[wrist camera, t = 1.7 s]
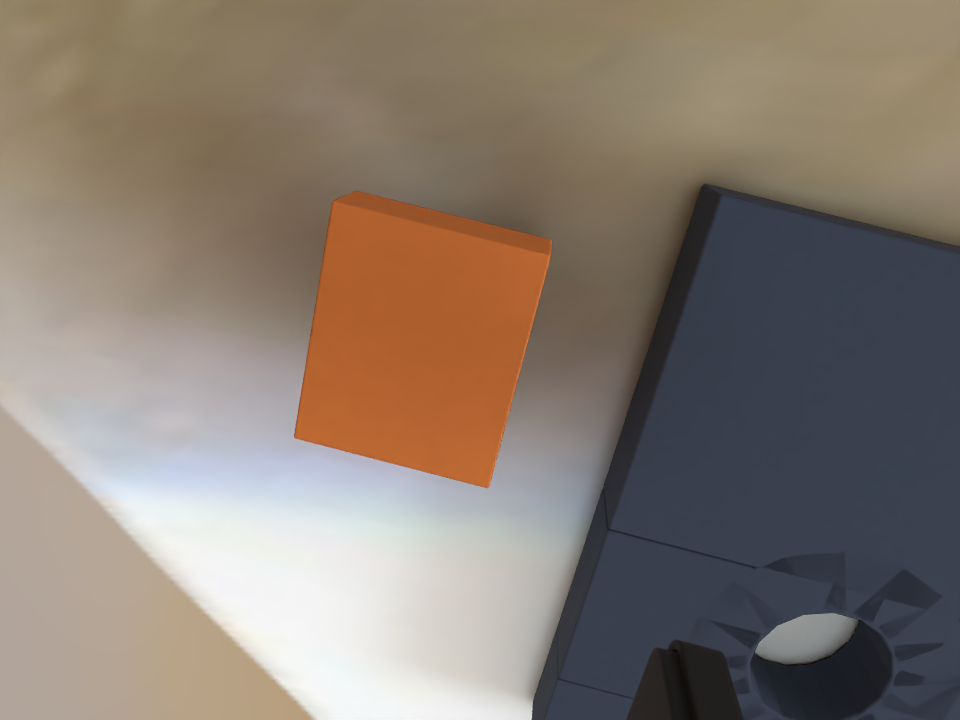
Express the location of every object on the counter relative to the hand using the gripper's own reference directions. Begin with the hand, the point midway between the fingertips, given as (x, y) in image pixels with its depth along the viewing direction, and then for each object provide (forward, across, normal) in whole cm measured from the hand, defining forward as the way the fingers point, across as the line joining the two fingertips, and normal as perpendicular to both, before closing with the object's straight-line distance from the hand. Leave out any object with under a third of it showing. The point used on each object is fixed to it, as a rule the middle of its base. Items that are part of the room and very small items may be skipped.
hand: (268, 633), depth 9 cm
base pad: (+14, -13, +3) cm, 19 cm away
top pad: (+14, 0, -1) cm, 14 cm away
